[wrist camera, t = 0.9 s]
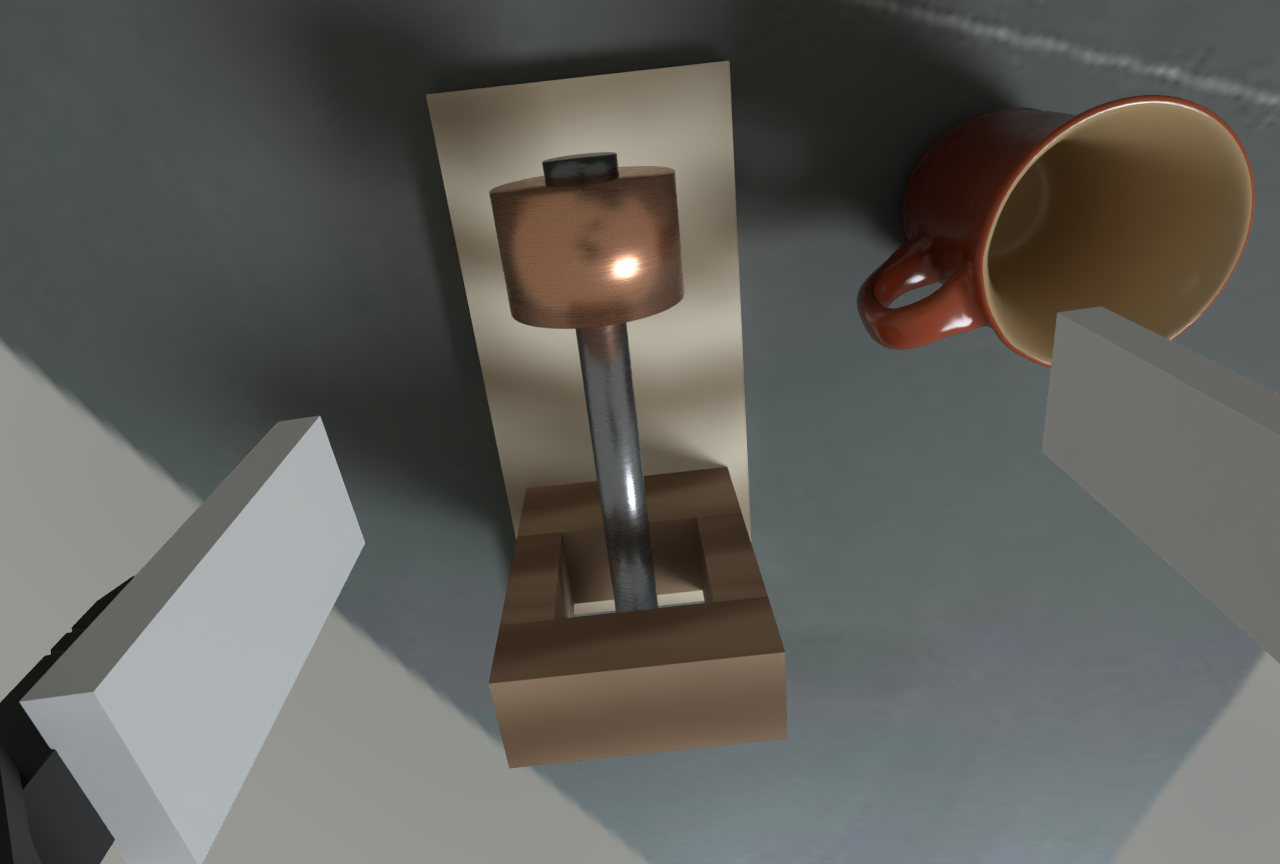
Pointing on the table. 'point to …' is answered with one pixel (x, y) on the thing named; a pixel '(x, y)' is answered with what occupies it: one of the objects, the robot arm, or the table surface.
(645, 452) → the board
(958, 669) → the table surface
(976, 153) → the mug
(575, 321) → the copper and grey mallet
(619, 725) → the eye block
